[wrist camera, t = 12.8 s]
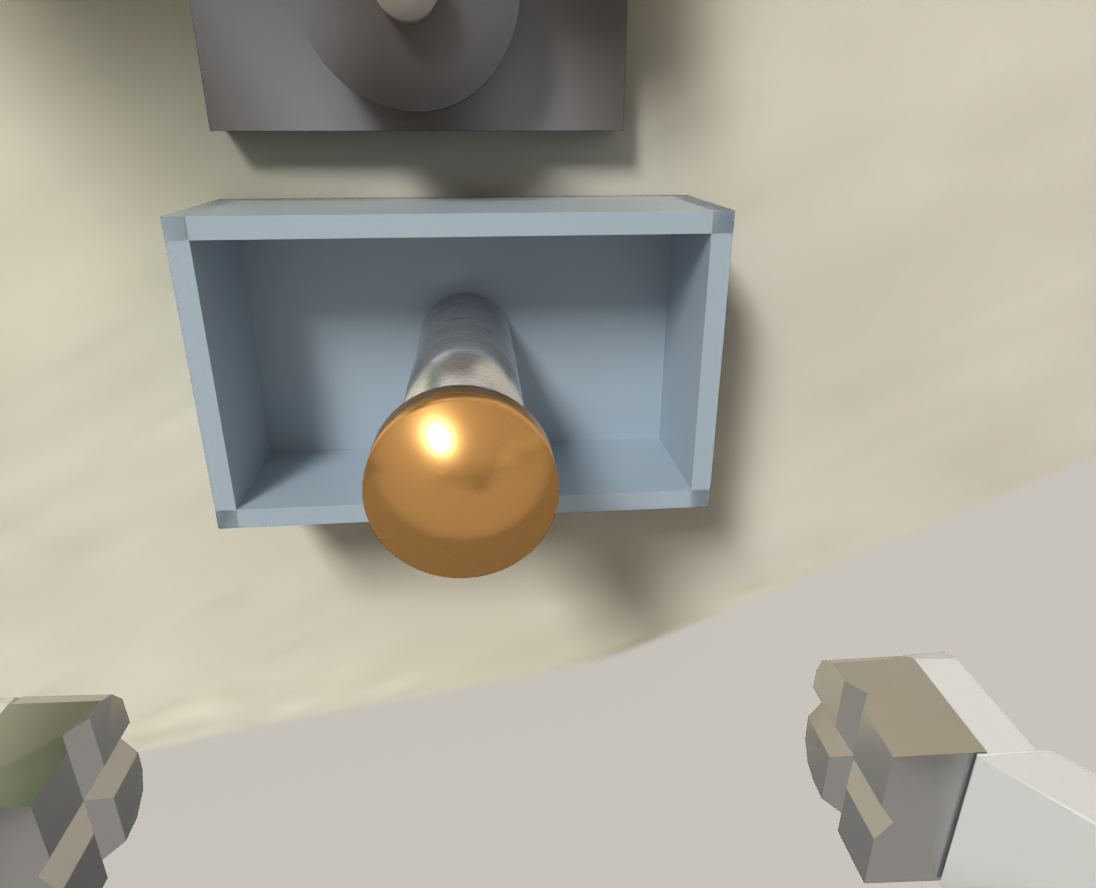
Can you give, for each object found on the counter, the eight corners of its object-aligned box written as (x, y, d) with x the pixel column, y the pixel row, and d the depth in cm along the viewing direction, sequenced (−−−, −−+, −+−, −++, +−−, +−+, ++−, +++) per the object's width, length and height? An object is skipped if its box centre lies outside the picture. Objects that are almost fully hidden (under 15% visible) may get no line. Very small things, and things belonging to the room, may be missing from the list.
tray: (686, 195, 25) (734, 210, 21) (670, 445, 29) (708, 506, 24) (218, 199, 24) (160, 216, 20) (260, 461, 28) (218, 528, 23)
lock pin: (521, 279, 25) (559, 398, 14) (523, 389, 27) (558, 573, 16) (405, 281, 25) (353, 404, 14) (413, 392, 27) (371, 582, 15)
